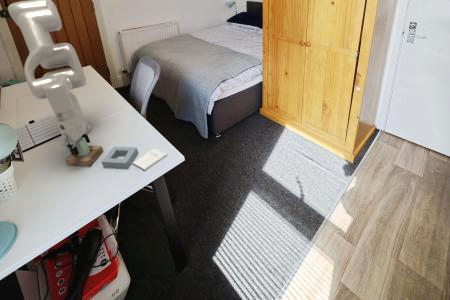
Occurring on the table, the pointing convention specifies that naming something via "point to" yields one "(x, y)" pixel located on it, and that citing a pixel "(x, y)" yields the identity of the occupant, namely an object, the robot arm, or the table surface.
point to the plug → (82, 147)
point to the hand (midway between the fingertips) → (81, 148)
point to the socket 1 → (85, 161)
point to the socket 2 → (112, 162)
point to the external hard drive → (149, 159)
